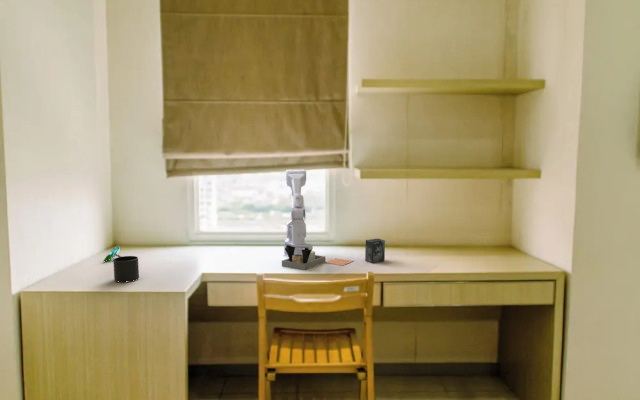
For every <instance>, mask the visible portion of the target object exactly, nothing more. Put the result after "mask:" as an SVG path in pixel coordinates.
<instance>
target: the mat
mask: <svg viewBox="0 0 640 400" xmlns="http://www.w3.org/2000/svg"><path fill="white" fill-rule="evenodd" d="M353 262H354V260H350V259H344V258H343V259H342V258H338V257H337V258H333V259H330V260H327V261H325V262H324V264H329V265H336V266H342V267H344V266H346V265H349V264H351V263H353Z"/></svg>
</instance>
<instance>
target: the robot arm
mask: <svg viewBox="0 0 640 400" xmlns="http://www.w3.org/2000/svg"><path fill="white" fill-rule="evenodd" d="M285 181H286V186H287V187H289V188H290V190H291V198H290V201H291V202H290V203H291V209H290V220H289V221H288V222H286V238H285V240H284V242H283V243H284V244H283V245H284V246H283V248H284V250H283V252H284V253H283V256H282V257H288V258H289V260H290V262H292V256H293V255H296V254H302V255H303V264H304V263H307V262H308V258H309V255H310V253H311V251H313V245H314V244H310V243H307V242H306V241H305V239H306V237H307V224H306V222H305V221H306V214H307V213H306V208H305V203H304V199H305V198H304V195H302V194H301V193H302V187H304V186H305V185H306V182H307V170H306V169H286V170H285Z"/></svg>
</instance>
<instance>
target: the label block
mask: <svg viewBox="0 0 640 400" xmlns="http://www.w3.org/2000/svg"><path fill="white" fill-rule="evenodd" d="M292 262H296V263H303V255H300V254H296V255H293V256H292Z"/></svg>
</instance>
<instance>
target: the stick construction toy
mask: <svg viewBox="0 0 640 400" xmlns="http://www.w3.org/2000/svg"><path fill="white" fill-rule="evenodd" d="M120 247H121V246H119V245H116V246H115V247H113V248H112V250H111V251H110V253H108V254H107V255H106V257H105V258H104V259H103V262H104V261H106V260H107V261H106V262H109V261H111V260H114V258H113V257H117V258H118V257H122V256H121V255H119V252H120V251H121V249H120ZM115 250H116V251H115ZM109 259H110V260H109ZM108 260H109V261H108Z"/></svg>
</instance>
